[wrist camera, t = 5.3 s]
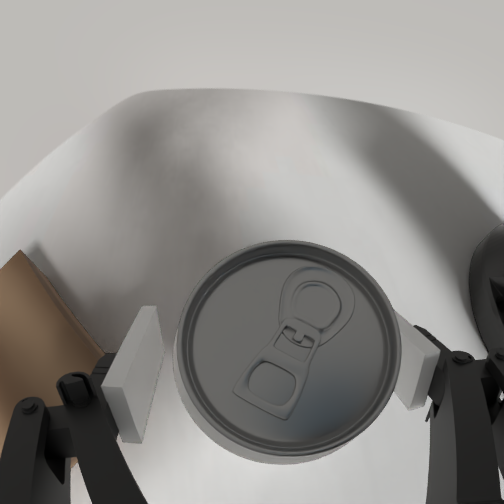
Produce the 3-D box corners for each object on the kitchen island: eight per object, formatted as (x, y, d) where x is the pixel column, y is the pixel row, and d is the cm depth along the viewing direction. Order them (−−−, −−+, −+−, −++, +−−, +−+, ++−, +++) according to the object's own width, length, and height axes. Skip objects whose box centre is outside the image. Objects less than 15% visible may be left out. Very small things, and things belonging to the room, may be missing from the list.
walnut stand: (46, 276, 21) (20, 249, 17) (143, 395, 17) (121, 387, 14) (-38, 371, 16) (-70, 357, 12) (38, 499, 12) (4, 506, 8)
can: (332, 369, 18) (440, 290, 8) (282, 461, 15) (351, 512, 5) (241, 322, 20) (246, 193, 9) (186, 408, 17) (107, 380, 6)
